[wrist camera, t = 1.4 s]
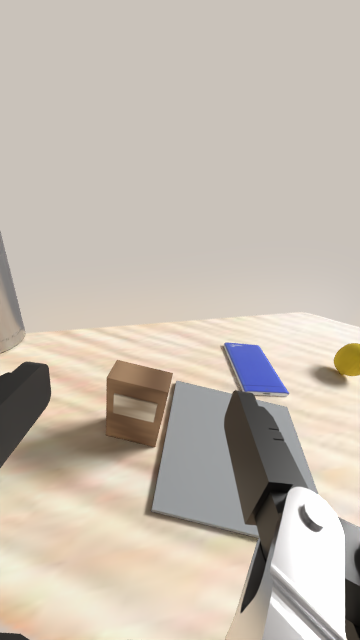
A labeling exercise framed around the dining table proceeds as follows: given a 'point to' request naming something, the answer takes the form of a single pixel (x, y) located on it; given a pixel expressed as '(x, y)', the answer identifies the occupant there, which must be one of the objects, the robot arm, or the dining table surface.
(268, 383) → the hard drive
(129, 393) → the brown cardboard box
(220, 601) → the dining table surface
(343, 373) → the lemon
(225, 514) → the grey mat
